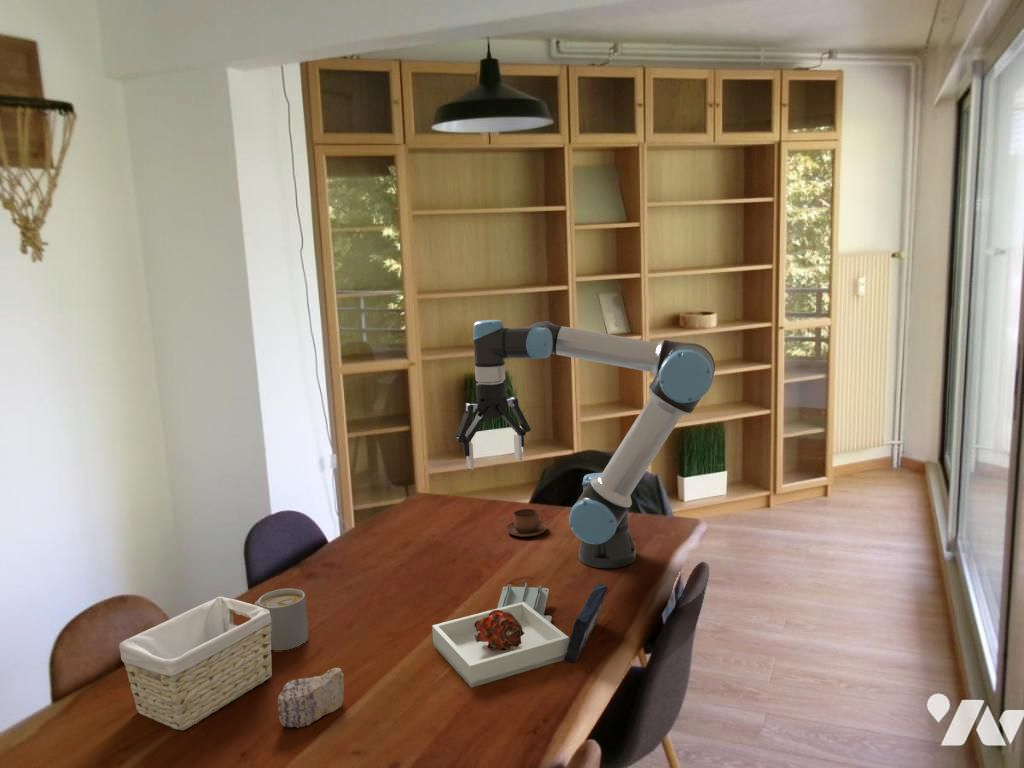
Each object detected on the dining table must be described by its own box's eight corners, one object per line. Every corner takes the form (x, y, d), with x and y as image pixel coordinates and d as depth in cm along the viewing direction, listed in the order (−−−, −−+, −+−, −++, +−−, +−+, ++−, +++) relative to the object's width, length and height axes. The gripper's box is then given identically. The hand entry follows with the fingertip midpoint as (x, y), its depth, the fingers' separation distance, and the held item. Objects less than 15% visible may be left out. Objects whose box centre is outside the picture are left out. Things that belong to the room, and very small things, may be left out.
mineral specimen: (326, 690, 160) (323, 658, 159) (351, 703, 155) (348, 670, 154) (264, 722, 150) (261, 688, 149) (289, 738, 145) (286, 702, 144)
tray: (524, 620, 186) (523, 601, 185) (569, 658, 168) (568, 637, 167) (433, 645, 176) (432, 625, 175) (471, 687, 158) (469, 666, 158)
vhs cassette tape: (574, 665, 166) (587, 623, 163) (561, 660, 167) (573, 617, 164) (598, 626, 183) (609, 586, 180) (585, 621, 184) (597, 581, 181)
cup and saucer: (510, 525, 249) (509, 506, 248) (549, 526, 247) (549, 506, 246) (503, 539, 238) (502, 519, 237) (544, 540, 235) (543, 520, 234)
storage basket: (177, 739, 146) (168, 662, 144) (123, 715, 155) (114, 642, 152) (281, 677, 166) (274, 608, 163) (228, 659, 174) (221, 593, 172)
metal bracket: (495, 577, 197) (557, 580, 194) (497, 596, 199) (559, 599, 196) (482, 619, 184) (548, 622, 181) (485, 639, 187) (550, 642, 183)
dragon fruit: (523, 664, 167) (479, 656, 175) (539, 627, 172) (495, 621, 180) (502, 641, 163) (458, 634, 171) (519, 604, 168) (475, 599, 176)
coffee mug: (317, 637, 182) (314, 595, 180) (279, 656, 174) (275, 611, 173) (281, 622, 190) (277, 581, 189) (244, 639, 183) (239, 596, 181)
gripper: (527, 374, 215) (530, 453, 219) (438, 385, 204) (443, 468, 208) (541, 378, 209) (544, 459, 212) (450, 389, 198) (455, 475, 201)
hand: (494, 464), depth 210 cm, fingers open, 13 cm apart
